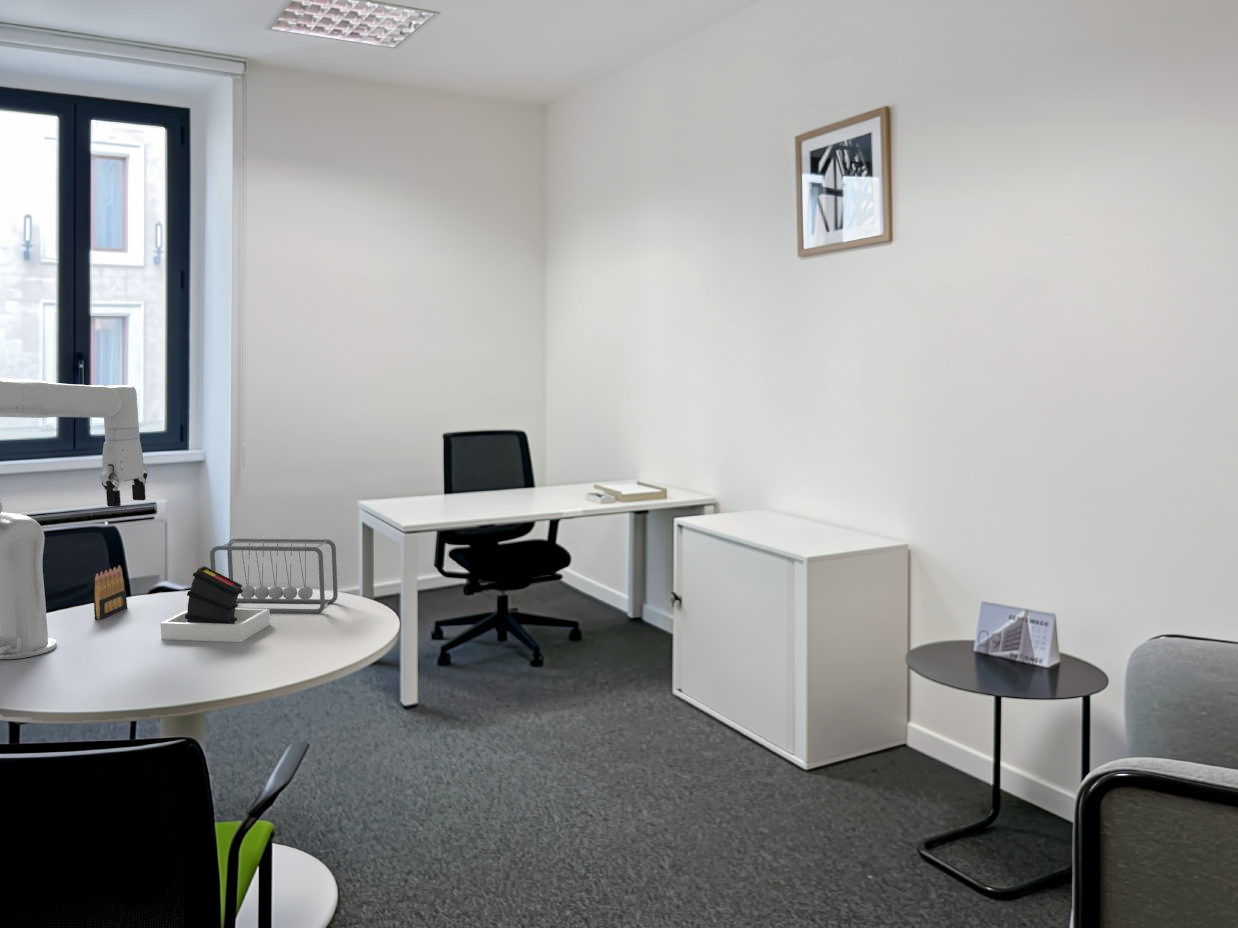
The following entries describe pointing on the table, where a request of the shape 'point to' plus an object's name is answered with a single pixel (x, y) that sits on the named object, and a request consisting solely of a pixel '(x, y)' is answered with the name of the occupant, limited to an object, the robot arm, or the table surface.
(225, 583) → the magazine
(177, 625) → the parts tray
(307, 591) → the newton's cradle
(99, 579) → the ammunition clip
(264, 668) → the table surface
